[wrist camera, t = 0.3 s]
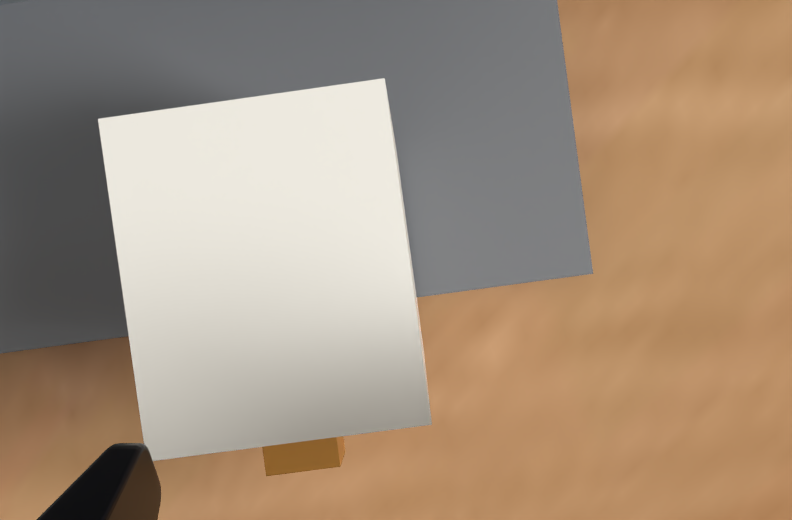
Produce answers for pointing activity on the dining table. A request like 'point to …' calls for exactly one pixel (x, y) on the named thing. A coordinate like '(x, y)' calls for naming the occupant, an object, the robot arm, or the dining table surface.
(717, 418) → the dining table surface
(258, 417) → the breaker module
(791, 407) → the dining table surface
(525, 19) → the mounting board
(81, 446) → the dining table surface
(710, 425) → the dining table surface
